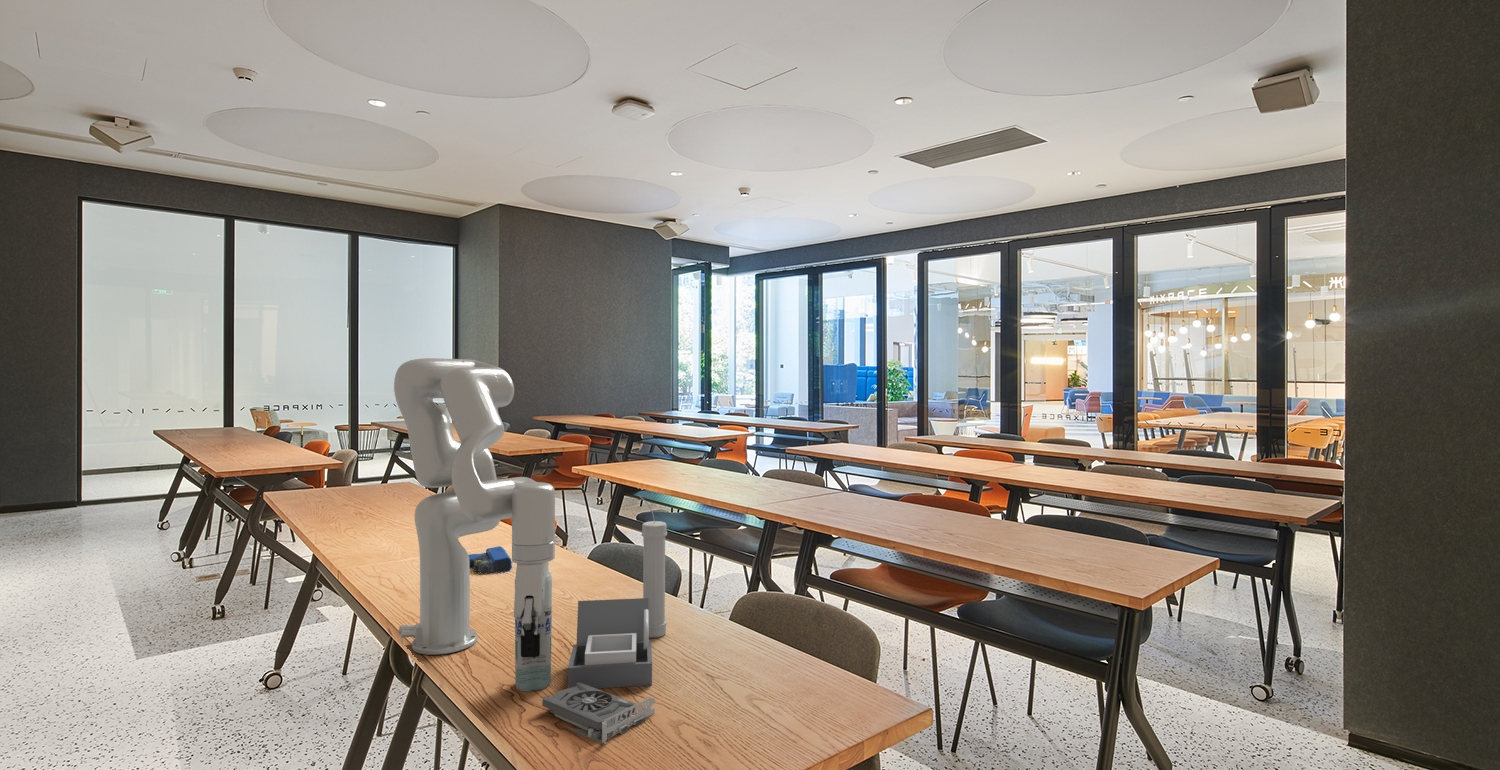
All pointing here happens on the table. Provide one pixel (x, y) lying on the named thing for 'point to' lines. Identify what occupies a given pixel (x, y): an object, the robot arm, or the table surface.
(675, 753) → the table surface
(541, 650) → the spray paint can
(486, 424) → the robot arm
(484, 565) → the stun gun
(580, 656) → the case
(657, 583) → the pipe
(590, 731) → the graphics card
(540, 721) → the table surface
